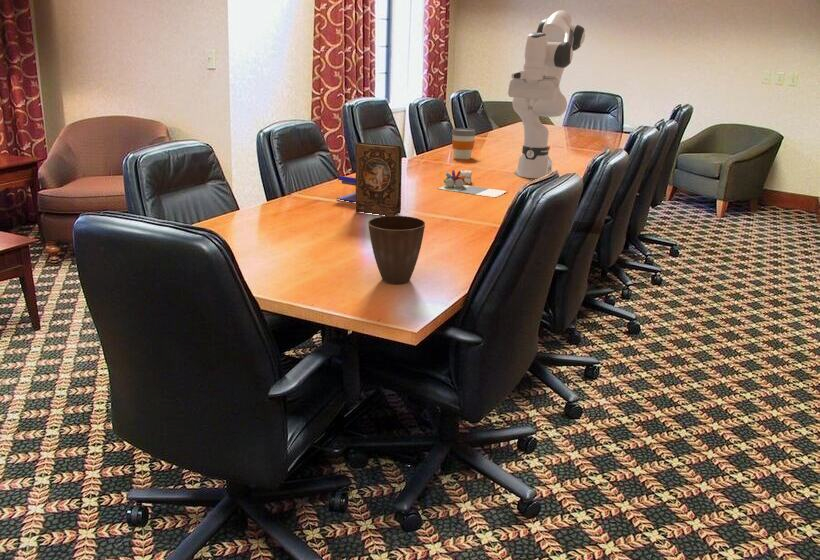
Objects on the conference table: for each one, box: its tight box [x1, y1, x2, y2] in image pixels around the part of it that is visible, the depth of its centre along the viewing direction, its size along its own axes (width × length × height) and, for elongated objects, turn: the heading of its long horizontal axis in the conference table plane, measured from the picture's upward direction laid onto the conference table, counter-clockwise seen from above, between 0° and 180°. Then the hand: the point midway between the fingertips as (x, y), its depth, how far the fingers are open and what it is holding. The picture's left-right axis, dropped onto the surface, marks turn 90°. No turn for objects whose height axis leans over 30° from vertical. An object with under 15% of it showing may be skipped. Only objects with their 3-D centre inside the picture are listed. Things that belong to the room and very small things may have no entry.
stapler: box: [336, 175, 356, 202], centre depth 280 cm, size 12×28×10 cm, turn 149°
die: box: [459, 170, 473, 185], centre depth 311 cm, size 5×5×5 cm
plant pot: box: [367, 215, 426, 285], centre depth 185 cm, size 15×15×16 cm
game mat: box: [437, 184, 507, 198], centre depth 297 cm, size 14×27×1 cm, turn 59°
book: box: [355, 142, 403, 216], centre depth 251 cm, size 16×6×25 cm, turn 71°
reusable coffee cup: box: [451, 127, 476, 160], centre depth 372 cm, size 12×13×15 cm
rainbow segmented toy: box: [443, 169, 467, 188], centre depth 301 cm, size 8×10×7 cm
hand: (531, 110), depth 286 cm, fingers closed
